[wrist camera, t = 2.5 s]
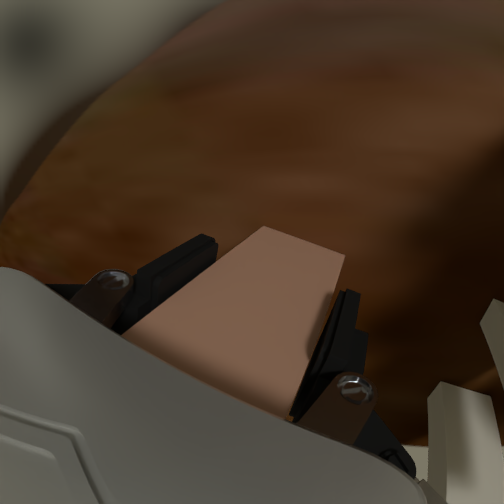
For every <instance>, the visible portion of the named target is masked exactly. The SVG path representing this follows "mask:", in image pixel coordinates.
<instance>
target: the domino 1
mask: <svg viewBox="0 0 504 504" xmlns="http://www.w3.org/2000/svg"><path fill="white" fill-rule="evenodd" d="M344 257H345V255H343V254H340V253H337V252H335V251H332V250H329V249H326V248H324V247H321V246H318V245H315V244H313V243H310V242H307V241H304V240H302V239H299V238H296V237H293V236H291V235H288V234H285V233H282V232H279V231H277V230H274V229H271V228H268V227H265V226H263V227H261V228H260V229H259V230H257V231H256V232H255V233H253V234H252V235H251V236H249V237H248V238H247V239H245V240H244V241H243V242H242V243H240V244H239V245H238V246H236V247H235V248H234V249H232V250H231V251H230V252H228V253H227V254H226V255H224V256H223V257H222V258H220V259H219V260H218V261H217V262H215V263H214V264H213V265H211V266H210V267H209V268H207V269H206V270H205V271H203V272H202V273H201V274H200V275H198V276H197V277H196V278H194V279H193V280H192V281H190V282H189V283H188V284H187V285H185V286H184V287H183V288H181V289H180V290H179V291H177V292H176V293H175V294H174V295H172V296H171V297H170V298H168V299H167V300H166V301H165V302H163V303H162V304H161V305H159V306H158V307H157V308H155V309H154V310H153V311H152V312H150V313H149V314H148V315H146V316H145V317H144V318H143V319H141V320H140V321H139V322H137V323H136V324H135V325H134V326H132V327H131V328H130V329H129V330H127V331H126V332H125V333H123V334H122V335H121V336H122V337H124V338H126V339H127V340H129V341H131V342H132V343H134V344H136V345H137V346H139V347H141V348H142V349H144V350H146V351H147V352H149V353H151V354H153V355H154V356H156V357H158V358H160V359H161V360H163V361H165V362H167V363H169V364H170V365H172V366H174V367H176V368H178V369H180V370H181V371H183V372H185V373H187V374H189V375H191V376H193V377H195V378H197V379H199V380H200V381H202V382H204V383H206V384H208V385H210V386H212V387H214V388H216V389H218V390H221V391H223V392H225V393H227V394H229V395H231V396H233V397H235V398H237V399H240V400H242V401H244V402H246V403H248V404H251V405H253V406H255V407H257V408H260V409H262V410H264V411H267V412H269V413H271V414H274V415H276V416H278V417H281V418H283V419H285V418H286V416H287V414H288V411H289V409H290V407H291V404H292V402H293V399H294V397H295V395H296V392H297V390H298V387H299V385H300V382H301V380H302V377H303V375H304V372H305V370H306V367H307V365H308V362H309V359H310V357H311V354H312V352H313V349H314V346H315V344H316V341H317V338H318V335H319V333H320V330H321V327H322V324H323V321H324V319H325V316H326V313H327V310H328V307H329V304H330V301H331V298H332V295H333V292H334V289H335V286H336V283H337V280H338V277H339V273H340V270H341V267H342V264H343V261H344Z"/></svg>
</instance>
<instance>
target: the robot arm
mask: <svg viewBox="0 0 504 504" xmlns="http://www.w3.org/2000/svg"><path fill="white" fill-rule="evenodd" d="M217 251H218V243H215V239H214V238H212V237H209V236H207V235H204V234H199V235H198V236H196V237H194V238H192V239H190V240H189V241H187V242H185V243H183V244H182V245H180V246H178V247H176V248H175V249H173V250H171V251H169V252H168V253H166V254H164V255H162V256H161V257H159V258H157V259H155V260H154V261H152V262H150V263H148V264H147V265H145V266H143V267H142V268H140V269H138V270H137V274H135V275H134V276H131V275H130V274H129V273H127V272H125V271H122V270H118V269H109V270H104V271H101V272H99V273H97V274H96V275H95V276H94V277H93V278H92V279H91V280H90V281H89V282H88V283H87V284H44V283H42V282H41V281H39V280H37V279H36V278H34V277H32V276H30V275H28V274H26V273H24V272H21V271H18V270H15V269H11V268H5V267H0V504H448V503H447V502H446V501H445V500H444V499H443V498H442V497H441V496H440V495H439V494H438V493H437V492H436V491H435V490H434V489H433V488H432V487H431V486H430V485H429V484H428V483H427V482H426V481H425V480H424V479H422V480H421V481H419V480H418V479H417V478H416V477H415V476H416V466H415V463H414V461H413V459H412V458H411V456H410V455H409V454H408V453H407V451H406V450H405V449H404V447H403V446H402V445H401V444H400V442H399V441H398V440H397V439H396V437H395V436H394V435H393V434H392V432H391V431H390V430H389V428H388V427H387V426H386V425H385V423H384V422H383V421H382V420H381V418H380V417H379V416H378V415H377V413H376V412H375V411H374V410H373V408H374V407H375V405H376V403H377V400H378V390H377V389H376V387H375V385H374V384H373V383H372V381H371V380H369V379H368V378H367V377H365V376H363V372H364V365H365V358H366V350H367V343H368V333H366V332H363V331H360V330H358V329H355V325H356V319H357V313H358V307H359V301H360V295H361V294H360V293H357V292H355V291H352V290H349V289H346V292H344V291H341V290H340V292H339V294H338V297H337V299H336V302H335V304H334V306H333V309H332V311H331V313H330V316H329V318H328V320H327V323H326V325H325V327H324V330H323V332H322V334H321V336H320V339H319V341H318V343H317V345H316V348H315V350H314V352H313V355H312V358H311V360H310V363H309V366H308V368H307V371H306V373H305V376H304V379H303V381H302V384H301V386H300V389H299V391H298V393H297V396H296V398H295V401H294V403H293V406H292V408H291V410H290V413H289V415H290V416H293V417H294V419H293V421H292V422H291V421H288V420H286V419H283V418H281V417H278V416H276V415H274V414H271V413H269V412H267V411H264V410H262V409H260V408H257V407H255V406H253V405H251V404H248V403H246V402H244V401H242V400H240V399H237V398H235V397H233V396H231V395H229V394H227V393H225V392H223V391H221V390H218V389H216V388H214V387H212V386H210V385H208V384H206V383H204V382H202V381H200V380H199V379H197V378H195V377H193V376H191V375H189V374H187V373H185V372H183V371H181V370H180V369H178V368H176V367H174V366H172V365H170V364H169V363H167V362H165V361H163V360H161V359H160V358H158V357H156V356H154V355H153V354H151V353H149V352H147V351H146V350H144V349H142V348H141V347H139V346H137V345H136V344H134V343H132V342H131V341H129V340H127V339H126V338H124V337H122V336H121V335H122V334H123V333H125V332H126V331H127V330H129V329H130V328H131V327H132V326H134V325H135V324H136V323H137V322H139V321H140V320H141V319H143V318H144V317H145V316H146V315H148V314H149V313H150V312H152V311H153V310H154V309H155V308H157V307H158V306H159V305H161V304H162V303H163V302H165V301H166V300H167V299H168V298H170V297H171V296H172V295H174V294H175V293H176V292H177V291H179V290H180V289H181V288H183V287H184V286H185V285H187V284H188V283H189V282H190V281H192V280H193V279H194V278H196V277H197V276H198V275H200V274H201V273H202V272H203V271H205V270H206V269H207V268H209V267H210V266H211V265H213V264H214V263H215V261H216V256H217Z"/></svg>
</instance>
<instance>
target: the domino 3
mask: <svg viewBox="0 0 504 504" xmlns="http://www.w3.org/2000/svg"><path fill="white" fill-rule="evenodd" d="M480 326H481V328H482V331H483V333H484V335H485V338H486V341H487V343H488V346H489V348H490V351H491V354H492V356H493V359H494V362H495V365H496V368H497V370H498V373H499V376H500V380H501V383H502V386H503V389H504V303H503V302H501V301H498V300H496V299H494V298H493V300H492V302H491V304H490V306H489V307H488V309H487V311H486V313H485V315H484V316H483V318H482V320H481V321H480Z"/></svg>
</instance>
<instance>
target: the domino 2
mask: <svg viewBox="0 0 504 504" xmlns="http://www.w3.org/2000/svg"><path fill="white" fill-rule="evenodd" d="M427 403H428V435H429V451H428V452H429V453H428V481H427V483H428V484H429V485H430V486H431V487H432V488H433V489H434V490H435V491H436V492H437V493H438V494H439V495H440V496H441V497H442V498H443V499H444V500H445V501H446V502H447V503H448V504H504V461H503V455H502V448H501V442H500V436H499V431H498V426H497V421H496V417H495V412H494V408H493V404H492V400H491V396H488V395H485V394H481V393H478V392H474V391H471V390H468V389H464V388H461V387H458V386H455V385H451V384H448V383H445V382H442V381H440V383H439V384H438V385H437V387H436V388H435V389H434V391H433V392H432V393H431V394H430V396H429V397H428V398H427Z"/></svg>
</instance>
